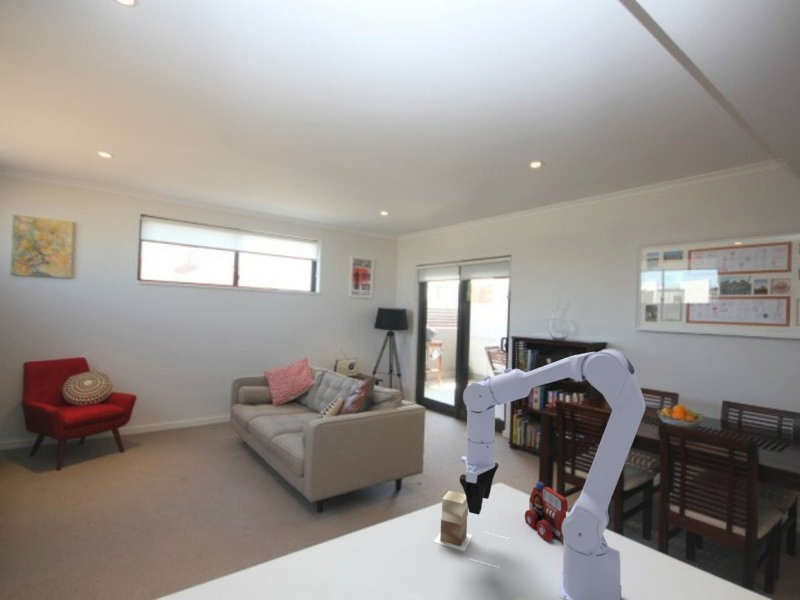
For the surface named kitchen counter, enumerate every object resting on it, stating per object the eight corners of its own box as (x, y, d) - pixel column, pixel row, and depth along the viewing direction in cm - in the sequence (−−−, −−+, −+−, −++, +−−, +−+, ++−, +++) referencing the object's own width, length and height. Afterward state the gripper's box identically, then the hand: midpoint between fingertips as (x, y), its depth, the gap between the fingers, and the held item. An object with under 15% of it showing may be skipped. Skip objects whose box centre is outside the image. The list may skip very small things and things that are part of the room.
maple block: (467, 515, 91) (468, 494, 91) (462, 525, 87) (462, 503, 87) (448, 510, 93) (448, 490, 93) (441, 519, 89) (442, 498, 89)
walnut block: (466, 535, 91) (467, 515, 91) (460, 546, 87) (461, 524, 87) (446, 530, 93) (447, 510, 93) (440, 540, 89) (440, 519, 89)
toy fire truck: (544, 517, 102) (545, 474, 102) (578, 545, 90) (579, 497, 90) (519, 519, 100) (520, 476, 101) (550, 549, 88) (551, 500, 89)
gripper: (471, 427, 95) (469, 487, 95) (451, 446, 82) (450, 515, 82) (502, 432, 92) (501, 494, 92) (487, 452, 79) (485, 524, 79)
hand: (479, 504), depth 87 cm, fingers open, 7 cm apart
